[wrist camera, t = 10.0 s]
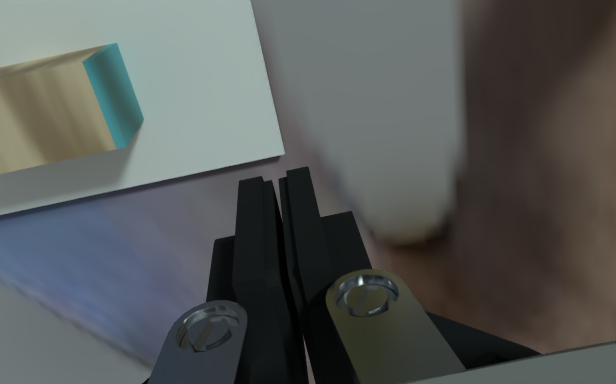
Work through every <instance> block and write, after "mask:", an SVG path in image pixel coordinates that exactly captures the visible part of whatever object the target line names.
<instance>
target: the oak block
mask: <svg viewBox="0 0 616 384" xmlns="http://www.w3.org/2000/svg"><path fill="white" fill-rule="evenodd" d="M143 120H144V117H143V114H142V112H141V109H140V106H139V103H138V100H137V98H136V95H135V92H134V89H133V86H132V84H131V81H130V78H129V75H128V72H127V70H126V67H125V64H124V61H123V58H122V56H121V53H120V50H119V47H118V44H117V43H112V44H107V45H103V46H98V47H93V48H89V49H84V50H79V51H74V52H70V53H65V54H60V55H55V56H51V57H46V58H41V59H36V60H32V61H27V62H22V63H17V64H13V65H8V66H3V67H0V174H2V173H7V172H12V171H17V170H21V169H26V168H31V167H35V166H40V165H45V164H49V163H54V162H59V161H64V160H68V159H73V158H78V157H82V156H87V155H92V154H96V153H101V152H106V151H111V150H115V149H120V148H125V147H127V146H128V145H129V143H130V142H131V140H132V138H133V137H134V135H135V133H136V132H137V130H138V129H139V127H140V125H141V124H142V122H143Z"/></svg>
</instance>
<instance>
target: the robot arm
mask: <svg viewBox="0 0 616 384" xmlns="http://www.w3.org/2000/svg"><path fill="white" fill-rule="evenodd" d="M286 174H287V177H284V178H279V189H280V199H281V210H282V219H281V215H280V210H279V206H278V202H277V198H276V194H275V190H274V186H273V183H272V180H270V181H265V182H264V181H263V178H262V176H260V177H255V178H250V179H245V180H241V181H239V187H238V201H237V216H236V230H235V235H234V236H229V237H225V238H220V239H216V240H215V242H214V248H213V255H212V262H211V269H210V277H209V284H208V291H207V298H206V303H203V304H201V305H198V306H196V307H193V308H192V309H190V310H189V311H187V312H186V313H184V314H183V315H182V316H181V317H180V318H179V319H178V320H177V321H176V322H174V324H173V326H172V327H171V329H170V331H169V332H168V335H167V337H166V340H165V342H164V344H163V347H162V349H161V352H160V354H159V357H158V359H157V361H156V364H155V366H154V369H153V371H152V373H151V376H150V377H149V378H148V379H147V380H146V381H145V382H144V383H142V384H309V380H308V372H307V363H306V355H305V347H304V340H305V344H306V347H307V351H308V355H309V359H310V363H311V367H312V371H313V375H314V379H315V383H316V384H616V341H611V342H605V343H599V344H593V345H587V346H582V347H576V348H570V349H565V350H561V351H556V352H551V353H546V354H541V353H539V352H537V351H535V350H532V349H530V348H527V347H525V346H522V345H519V344H516V343H513V342H511V341H508V340H505V339H502V338H499V337H497V336H494V335H491V334H488V333H486V332H483V331H480V330H477V329H474V328H472V327H469V326H466V325H463V324H460V323H458V322H455V321H452V320H449V319H446V318H444V317H441V316H438V315H435V314H432V313H430V312H427V311H424V309H423V308H422V307H421V305H420V304H419V302H418V301H417V300H416V298H415V297H414V295H413V294H412V293H411V291H410V290H409V288H408V287H407V286H406V284H405V283H404V282H403V281H402V280H401V279H400V278H399V277H398V276H397V275H394V274H392V273H390V272H388V271H384V270H379V269H372V266H371V264H370V261H369V258H368V255H367V252H366V250H365V247H364V244H363V241H362V238H361V236H360V233H359V230H358V227H357V224H356V222H355V219H354V216H353V213H352V211H348V212H344V213H339V214H334V215H329V216H325V217H320V214H319V210H318V206H317V201H316V197H315V193H314V189H313V184H312V180H311V176H310V172H309V167H308V166H307V167H302V168H298V169H293V170H288V171H286ZM282 220H283V223H282ZM303 336H304V339H303Z"/></svg>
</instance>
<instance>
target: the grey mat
mask: <svg viewBox="0 0 616 384" xmlns="http://www.w3.org/2000/svg"><path fill="white" fill-rule="evenodd" d="M112 43H117V44H118V47H119V50H120V53H121V56H122V58H123V61H124V64H125V67H126V70H127V72H128V75H129V78H130V81H131V84H132V86H133V89H134V92H135V95H136V98H137V100H138V103H139V106H140V109H141V112H142V114H143V117H144V120H143V122H142V124H141V125H140V127H139V129H138V130H137V132H136V133H135V135H134V137H133V138H132V140H131V142H130V143H129V145H128V146H127V147H125V148H120V149H115V150H111V151H106V152H101V153H96V154H92V155H87V156H82V157H78V158H73V159H68V160H64V161H59V162H54V163H49V164H45V165H40V166H35V167H31V168H26V169H21V170H17V171H12V172H7V173H2V174H0V215H2V214H7V213H12V212H17V211H21V210H26V209H31V208H35V207H40V206H45V205H49V204H54V203H59V202H63V201H68V200H73V199H77V198H82V197H87V196H91V195H96V194H101V193H105V192H110V191H115V190H120V189H124V188H129V187H134V186H138V185H143V184H148V183H152V182H157V181H162V180H166V179H171V178H176V177H180V176H185V175H190V174H194V173H199V172H204V171H209V170H213V169H218V168H223V167H227V166H232V165H237V164H241V163H246V162H251V161H255V160H260V159H265V158H269V157H274V156H279V155H283V154H285V152H284V147H283V143H282V138H281V134H280V129H279V125H278V121H277V116H276V112H275V107H274V103H273V98H272V94H271V89H270V85H269V81H268V76H267V72H266V67H265V63H264V58H263V54H262V50H261V45H260V41H259V36H258V32H257V27H256V23H255V18H254V14H253V10H252V5H251V1H250V0H0V67H3V66H8V65H13V64H17V63H22V62H27V61H32V60H36V59H41V58H46V57H51V56H55V55H60V54H65V53H70V52H74V51H79V50H84V49H89V48H93V47H98V46H103V45H107V44H112Z"/></svg>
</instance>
